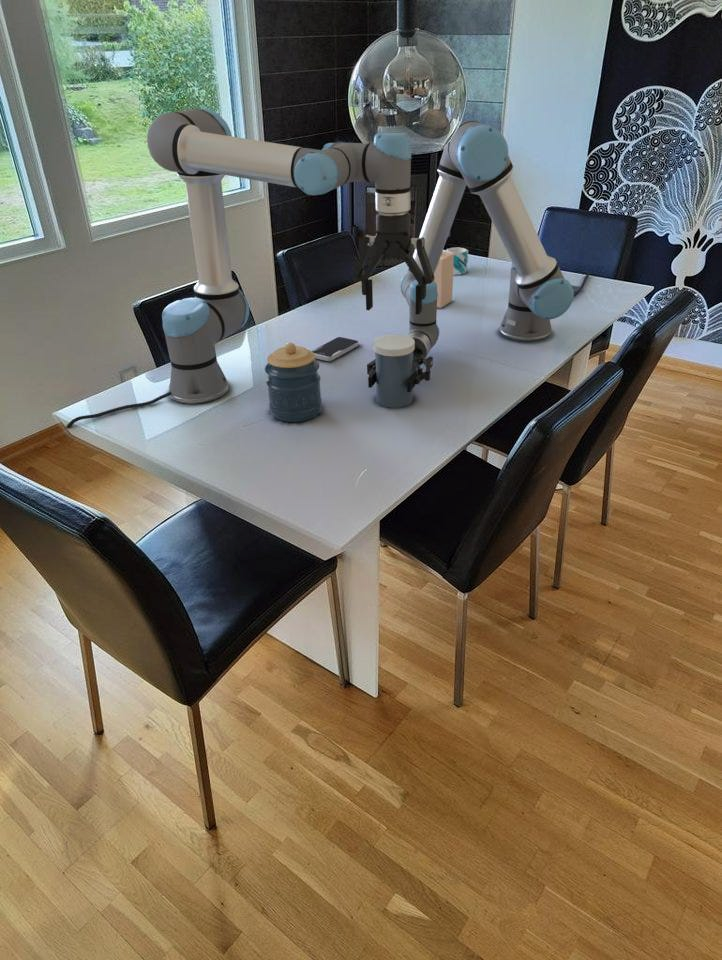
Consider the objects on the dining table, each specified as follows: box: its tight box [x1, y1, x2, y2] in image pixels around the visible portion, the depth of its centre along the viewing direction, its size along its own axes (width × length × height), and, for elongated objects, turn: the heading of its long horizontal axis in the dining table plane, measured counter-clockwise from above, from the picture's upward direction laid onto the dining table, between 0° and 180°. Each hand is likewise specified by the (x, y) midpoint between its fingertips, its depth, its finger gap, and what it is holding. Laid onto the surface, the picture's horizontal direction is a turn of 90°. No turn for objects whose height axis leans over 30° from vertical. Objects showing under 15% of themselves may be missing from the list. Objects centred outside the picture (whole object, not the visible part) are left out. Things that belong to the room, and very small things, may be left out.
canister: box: [264, 342, 323, 423], centre depth 161 cm, size 13×13×18 cm
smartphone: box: [311, 336, 359, 362], centre depth 198 cm, size 8×1×15 cm
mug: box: [445, 246, 469, 276], centre depth 261 cm, size 8×12×8 cm
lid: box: [373, 333, 415, 356], centre depth 162 cm, size 10×10×2 cm
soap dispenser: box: [434, 231, 454, 309], centre depth 227 cm, size 13×9×22 cm
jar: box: [374, 351, 414, 409], centre depth 166 cm, size 9×9×15 cm
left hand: (393, 310), depth 157 cm, fingers open, 11 cm apart
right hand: (389, 384), depth 163 cm, fingers closed on jar, 9 cm apart
